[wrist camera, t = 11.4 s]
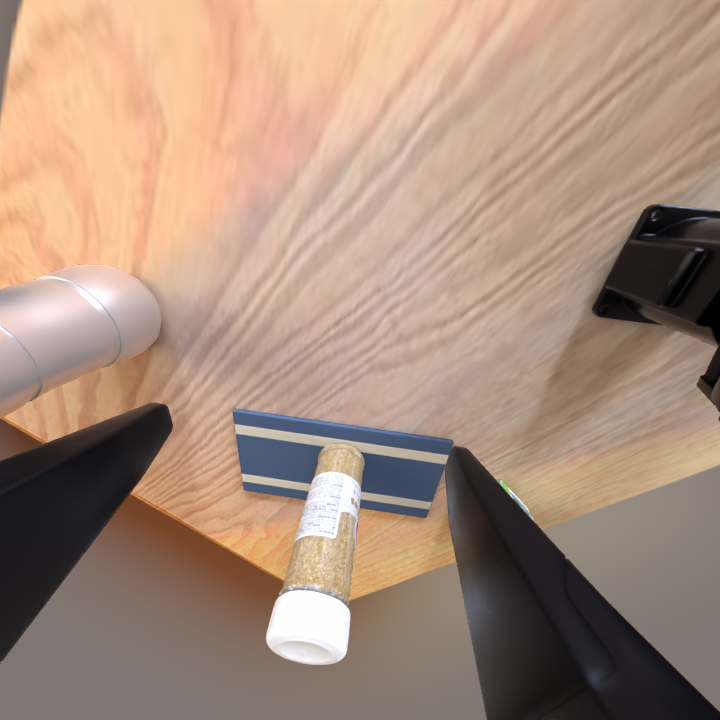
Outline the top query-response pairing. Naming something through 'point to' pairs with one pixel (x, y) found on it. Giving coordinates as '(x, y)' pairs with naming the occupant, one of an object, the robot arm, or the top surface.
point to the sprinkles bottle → (321, 564)
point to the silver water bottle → (70, 328)
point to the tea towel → (308, 437)
